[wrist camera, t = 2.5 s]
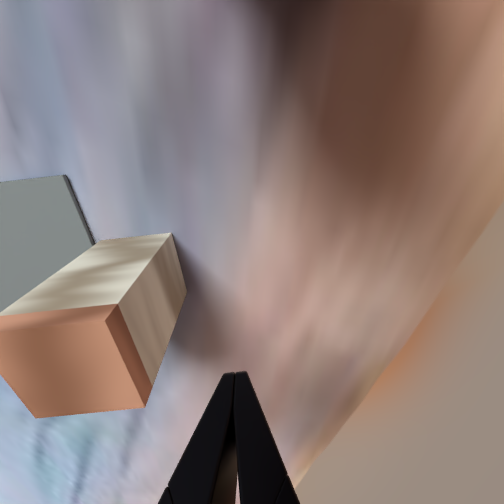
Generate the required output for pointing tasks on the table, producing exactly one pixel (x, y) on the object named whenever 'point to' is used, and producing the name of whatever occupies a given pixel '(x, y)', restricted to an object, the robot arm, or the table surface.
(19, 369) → the block
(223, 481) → the robot arm
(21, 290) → the mat
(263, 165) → the table surface
